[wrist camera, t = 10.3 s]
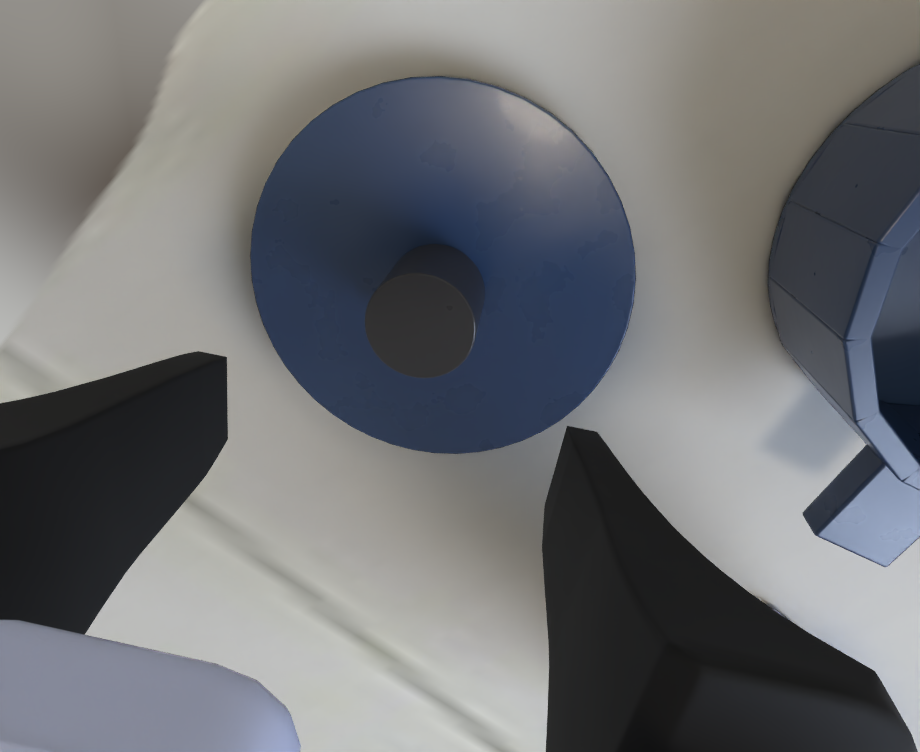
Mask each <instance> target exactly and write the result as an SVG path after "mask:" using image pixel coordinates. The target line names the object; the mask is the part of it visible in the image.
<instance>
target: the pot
mask: <svg viewBox="0 0 920 752" xmlns="http://www.w3.org/2000/svg"><path fill="white" fill-rule="evenodd" d="M768 287H769V297H770V306H771V310H772V314H773V318H774V322H775V325H776V328H777V330H778V333H779V335H780V341H781V342H782V345H783V346H784V347H785V349H786V350H787V351H788V353H789V354H790V355H791V356H792V358H793V359H794V361H795V362H796V363H797V364H798V366H799V367H800V368H801V369H802V370H803V372H804V373H805V374H806V376H807V377H808V378H809V379H810V381H811V382H812V383H813V385H814V386H815V387H816V388H817V390H818V391H819V392H820V393H821V394H822V395H823V396H824V397H825V399H826V400H827V401H828V402H829V403H830V404H831V405H832V406H833V407H834V409H835V410H836V411H837V412H838V413H839V414H840V415H841V416H842V417H843V419H844V420H845V421H846V422H847V423H848V424H849V425H850V426H851V428H852V429H853V430H854V431H855V432H856V433H857V434H858V435H859V436H860V438H861V439H862V440H863V441H864V442H865V443H866V444H867V445H866V446H865V447H864V448H863V449H862V450H861V451H860V452H859V453H858V454H857V455H856V457H855V458H854V459H853V460H852V461H851V462H850V463H849V464H848V465H847V466H846V467H845V468H844V469H843V470H842V471H841V472H840V474H839V475H838V476H837V477H836V478H835V479H834V480H833V481H832V482H831V483H830V484H829V485H828V486H827V487H826V488H825V489H824V490H823V492H822V493H821V494H820V495H819V496H818V497H817V498H816V499H815V500H814V501H813V502H812V503H811V504H810V505H809V506H808V507H807V509H806V510H805V511H804V512H803V516H804V518H805V519H806V521H807V523H808V524H809V526H810V528H811V529H812V531H813V533H814V534H815V535H816V536H818V537H820V538H822V539H824V540H827V541H829V542H831V543H833V544H835V545H838V546H840V547H842V548H844V549H846V550H849V551H851V552H853V553H855V554H857V555H859V556H862V557H864V558H866V559H868V560H870V561H873V562H875V563H877V564H879V565H881V566H884V567H887V566H889V565H890V564H891V563H892V562H893V561H894V560H895V559H896V558H897V557H898V556H900V555H901V554H902V553H903V552H904V551H905V550H906V549H907V548H908V547H909V546H910V545H912V544H913V543H914V542H915V541H916V540H917V539H918V538H919V537H920V64H918V65H916V66H914V67H912V68H910V69H909V70H907V71H905V72H904V73H902V74H901V75H899V76H898V77H896V78H895V79H894V80H892V81H891V82H889V83H888V84H886V85H885V86H884V87H882V88H881V89H879V90H878V91H876V92H875V93H874V94H873V95H872V96H871V97H869V98H868V99H867V100H866V101H865V102H864V103H862V104H861V105H860V106H859V107H858V108H856V109H855V110H854V111H853V112H852V113H851V114H850V115H849V116H848V117H847V118H846V119H845V120H844V121H843V122H842V123H841V124H840V125H839V126H838V127H837V128H836V129H835V130H834V132H833V133H832V134H831V135H830V136H829V137H828V138H827V139H826V141H825V142H824V143H823V145H822V146H821V147H820V148H819V150H818V151H817V152H816V154H815V155H814V156H813V157H812V159H811V160H810V161H809V163H808V165H807V166H806V168H805V169H804V171H803V173H802V174H801V176H800V178H799V179H798V181H797V182H796V184H795V186H794V188H793V190H792V192H791V194H790V196H789V198H788V200H787V203H786V205H785V207H784V209H783V211H782V214H781V217H780V220H779V223H778V226H777V229H776V232H775V235H774V239H773V245H772V250H771V255H770V260H769V279H768Z"/></svg>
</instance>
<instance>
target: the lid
mask: <svg viewBox="0 0 920 752" xmlns="http://www.w3.org/2000/svg"><path fill="white" fill-rule="evenodd" d="M250 258H251V274H252V283H253V288H254V293H255V298H256V303H257V306H258V309H259V312H260V316H261V319H262V322H263V325H264V327H265V329H266V331H267V334H268V336H269V338H270V340H271V342H272V344H273V346H274V348H275V350H276V351H277V353H278V355H279V356H280V358H281V360H282V361H283V363H284V364H285V366H286V367H287V369H288V370H289V371H290V372H291V374H292V375H293V376H294V378H295V379H296V380H297V381H298V383H299V384H300V385H301V386H302V387H303V388H304V389H305V390H306V391H307V392H308V393H309V394H310V395H311V396H312V397H313V398H314V399H315V400H316V401H317V402H318V403H319V404H321V405H322V406H323V407H324V408H326V409H327V410H328V411H329V412H330V413H332V414H333V415H335V416H336V417H338V418H339V419H341V420H342V421H344V422H345V423H347V424H348V425H350V426H351V427H353V428H355V429H357V430H359V431H361V432H363V433H365V434H367V435H369V436H371V437H374V438H376V439H379V440H382V441H384V442H387V443H390V444H392V445H396V446H400V447H404V448H408V449H412V450H418V451H424V452H431V453H449V454H460V453H473V452H481V451H487V450H492V449H497V448H501V447H504V446H508V445H511V444H514V443H517V442H520V441H523V440H525V439H527V438H529V437H531V436H534V435H536V434H538V433H540V432H542V431H544V430H545V429H547V428H549V427H550V426H552V425H553V424H555V423H557V422H558V421H560V420H561V419H563V418H564V417H565V416H566V415H568V414H569V413H570V412H571V411H572V410H574V409H575V408H576V407H577V406H579V405H580V403H581V402H582V401H583V400H584V399H585V398H586V397H587V396H588V395H589V394H590V393H591V392H592V391H593V390H594V389H595V387H596V386H597V385H598V383H599V382H600V381H601V379H602V378H603V377H604V375H605V374H606V373H607V371H608V370H609V368H610V366H611V364H612V362H613V360H614V359H615V357H616V355H617V353H618V351H619V349H620V347H621V344H622V342H623V339H624V336H625V334H626V331H627V329H628V325H629V321H630V316H631V312H632V308H633V304H634V293H635V282H636V271H635V252H634V246H633V241H632V236H631V231H630V226H629V223H628V220H627V217H626V214H625V211H624V208H623V205H622V202H621V200H620V198H619V196H618V194H617V192H616V190H615V188H614V186H613V184H612V182H611V180H610V178H609V176H608V174H607V173H606V172H605V170H604V169H603V167H602V166H601V164H600V163H599V162H598V160H597V159H596V157H595V156H594V154H593V153H592V152H591V150H590V149H589V148H588V147H587V146H586V145H585V144H584V143H583V142H582V141H581V140H580V138H579V137H578V136H577V135H576V134H575V133H574V132H573V131H572V130H571V129H570V128H568V127H567V126H566V125H565V124H563V123H562V122H561V121H560V120H559V119H557V118H556V117H555V116H554V115H552V114H551V113H550V112H548V111H547V110H545V109H543V108H542V107H540V106H538V105H537V104H535V103H533V102H532V101H530V100H528V99H527V98H525V97H522V96H520V95H518V94H515V93H513V92H511V91H508V90H506V89H503V88H501V87H499V86H495V85H491V84H487V83H483V82H479V81H475V80H471V79H464V78H454V77H445V76H432V77H410V78H405V79H400V80H395V81H390V82H384V83H381V84H378V85H375V86H373V87H370V88H367V89H364V90H361V91H358V92H356V93H354V94H352V95H350V96H349V97H347V98H345V99H343V100H341V101H339V102H337V103H335V104H334V105H332V106H331V107H329V108H328V109H327V110H325V111H324V112H323V113H321V114H320V115H319V116H317V117H316V118H315V119H313V120H312V121H311V122H310V123H309V124H308V125H307V126H306V127H305V128H304V129H303V130H302V131H301V132H300V133H299V134H298V135H297V136H296V137H295V138H294V139H293V140H292V141H291V143H290V144H289V145H288V147H287V148H286V149H285V151H284V152H283V154H282V155H281V156H280V158H279V159H278V160H277V162H276V164H275V166H274V168H273V170H272V172H271V174H270V175H269V177H268V179H267V181H266V183H265V186H264V189H263V191H262V194H261V197H260V200H259V203H258V205H257V209H256V214H255V219H254V224H253V229H252V239H251V254H250Z"/></svg>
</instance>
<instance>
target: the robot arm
mask: <svg viewBox="0 0 920 752" xmlns="http://www.w3.org/2000/svg"><path fill="white" fill-rule="evenodd" d="M227 440H228V423H227V357H224V356H219V355H214V354H209V353H204V352H199V351H198V352H193V353H187V354H183V355H179V356H176V357H172V358H169V359H165V360H162V361H159V362H155V363H152V364H149V365H146V366H142V367H139V368H136V369H133V370H129V371H126V372H123V373H120V374H116V375H113V376H110V377H107V378H103V379H100V380H96V381H92V382H89V383H85V384H81V385H78V386H74V387H70V388H67V389H63V390H59V391H56V392H52V393H48V394H44V395H39V396H35V397H30V398H26V399H21V400H16V401H11V402H6V403H1V404H0V752H300V747H301V745H300V742H299V739H298V736H297V733H296V729H295V726H294V723H293V720H292V717H291V714H290V712H289V711H288V709H287V707H286V706H285V705H284V704H283V703H281V702H280V701H279V700H278V699H277V698H276V697H275V696H274V695H273V694H272V693H270V692H269V691H268V690H267V689H266V688H265V687H264V686H263V685H262V684H261V683H259V682H258V681H257V680H255V679H253V678H250V677H248V676H245V675H243V674H240V673H238V672H235V671H233V670H230V669H228V668H225V667H223V666H220V665H218V664H215V663H211V662H206V661H202V660H197V659H192V658H188V657H183V656H179V655H174V654H170V653H165V652H161V651H156V650H152V649H147V648H143V647H138V646H133V645H129V644H124V643H120V642H115V641H111V640H106V639H102V638H97V637H93V636H88V635H85V633H86V632H87V630H88V628H89V627H90V625H91V624H92V622H93V621H94V619H95V617H96V616H97V614H98V613H99V611H100V610H101V608H102V607H103V605H104V604H105V602H106V601H107V599H108V598H109V596H110V595H111V594H112V592H113V591H114V589H115V588H116V586H117V585H118V583H119V582H120V580H121V579H122V577H123V576H124V574H125V573H126V572H127V570H128V569H129V568H130V566H131V565H132V564H133V563H134V561H135V560H136V559H137V557H138V556H139V555H140V554H141V552H142V551H143V550H144V549H145V548H146V546H147V545H148V544H149V543H150V542H151V541H152V539H153V538H154V537H155V536H156V535H157V533H158V532H159V531H160V530H161V529H162V528H163V526H164V525H165V524H166V523H167V522H168V520H169V519H170V518H171V517H172V516H173V515H174V513H175V512H176V511H177V510H178V509H179V508H180V506H181V505H182V504H183V503H184V502H185V500H186V499H187V498H188V497H189V496H190V494H191V493H192V492H193V491H194V489H195V488H196V487H197V486H198V485H199V483H200V482H201V481H202V480H203V478H204V477H205V476H206V474H207V473H208V471H209V470H210V468H211V466H212V465H213V463H214V462H215V460H216V458H217V457H218V455H219V453H220V452H221V450H222V448H223V446H224V445H225V443H226V441H227ZM542 553H543V569H544V584H545V598H546V611H547V625H548V639H549V690H548V718H547V739H546V752H917V749H916V746H915V743H914V740H913V737H912V735H911V733H910V731H909V729H908V727H907V726H906V724H905V722H904V720H903V719H902V717H901V715H900V713H899V712H898V710H897V708H896V706H895V705H894V703H893V701H892V699H891V698H890V696H889V694H888V692H887V691H886V689H885V687H884V685H883V684H882V682H881V680H880V679H879V677H878V675H877V674H876V672H875V671H874V670H872V669H870V668H868V667H867V666H865V665H863V664H861V663H860V662H858V661H856V660H854V659H853V658H851V657H849V656H847V655H846V654H844V653H842V652H841V651H839V650H837V649H835V648H834V647H832V646H830V645H828V644H827V643H825V642H823V641H821V640H820V639H818V638H816V637H814V636H813V635H811V634H809V633H808V632H806V631H805V630H803V629H802V628H800V627H799V626H797V625H796V624H794V623H793V622H791V621H790V620H788V619H787V618H785V617H784V616H783V615H782V614H781V613H779V612H778V611H777V610H774V609H771V608H770V607H769V606H767V605H766V604H764V603H763V602H762V601H760V600H759V599H757V598H756V597H755V596H753V595H752V594H750V593H749V592H748V591H746V590H745V589H744V588H743V587H741V586H740V585H739V584H738V583H736V582H735V581H734V580H732V579H731V578H730V577H729V576H727V575H726V574H725V573H724V572H722V571H721V570H720V569H719V568H717V567H716V566H715V565H714V564H713V563H712V562H710V561H709V560H708V559H707V558H706V557H705V556H703V555H702V554H701V553H700V552H699V551H698V550H697V549H696V548H695V547H694V546H693V545H692V544H691V543H690V542H688V541H687V540H686V539H685V538H684V537H683V536H682V535H681V534H680V533H679V532H678V531H677V530H676V529H675V528H674V527H673V526H672V525H671V524H670V523H669V522H668V521H667V519H666V518H665V517H664V516H663V515H662V514H661V513H660V512H659V511H658V510H657V508H656V507H655V506H654V505H653V504H652V503H651V502H650V500H649V499H648V498H647V497H646V496H645V495H644V493H643V492H642V491H641V490H640V488H639V487H638V486H637V485H636V483H635V482H634V481H633V480H632V478H631V477H630V476H629V474H628V473H627V472H626V471H625V469H624V468H623V467H622V465H621V464H620V462H619V461H618V460H617V458H616V457H615V456H614V454H613V453H612V452H611V450H610V449H609V447H608V446H607V445H606V443H605V442H604V441H603V439H602V438H601V437H600V435H599V434H598V433H597V432H594V431H589V430H584V429H579V428H575V427H570V426H567V429H566V432H565V436H564V439H563V443H562V446H561V450H560V453H559V457H558V460H557V464H556V467H555V471H554V474H553V478H552V481H551V485H550V488H549V492H548V495H547V499H546V502H545V509H544V523H543V540H542Z"/></svg>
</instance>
